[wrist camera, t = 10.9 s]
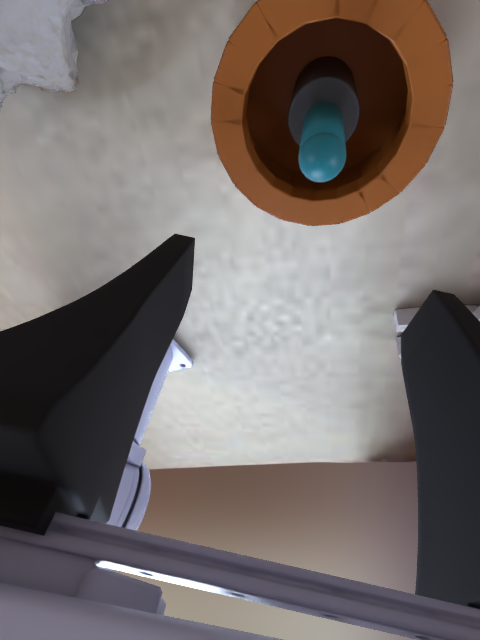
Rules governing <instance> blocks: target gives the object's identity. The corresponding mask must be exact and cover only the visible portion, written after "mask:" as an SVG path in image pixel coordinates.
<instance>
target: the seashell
mask: <svg viewBox="0 0 480 640" xmlns="http://www.w3.org/2000/svg"><path fill="white" fill-rule="evenodd" d="M106 1H108V0H0V110H1V109H2V101H3V100H5V99H6V98H7V96H8V95H9V94H12V93H15V92H16V88H17V87H18V86H19V85H21V84H26V85H35V86H38V87H39V88H41V89H42V90H45V91H49V92H52V93H61V92H62V91H67V92H70V91H72V90H74V89H76V88H78V84H79V72H78V66H77V63H76V60H77V56H78V53H79V50H78V47H77V43H76V40H75V37H74V33H73V30H72V27H71V21H72V20H74V19H75V18H77V17H78V16H80V15H81V13H82V11H83V9H84V8H85V6H87V5H90V4H102V3H104V2H106Z"/></svg>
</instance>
